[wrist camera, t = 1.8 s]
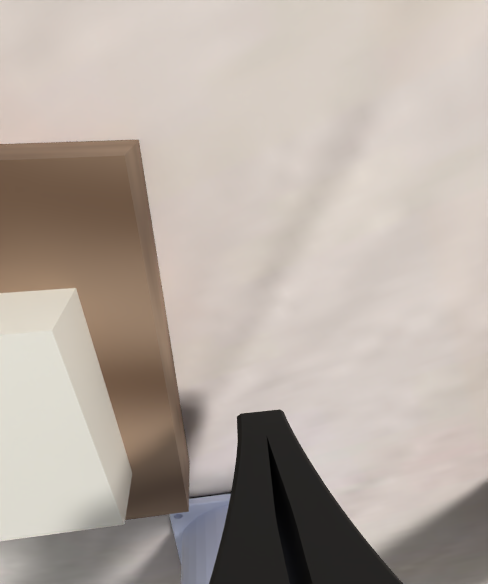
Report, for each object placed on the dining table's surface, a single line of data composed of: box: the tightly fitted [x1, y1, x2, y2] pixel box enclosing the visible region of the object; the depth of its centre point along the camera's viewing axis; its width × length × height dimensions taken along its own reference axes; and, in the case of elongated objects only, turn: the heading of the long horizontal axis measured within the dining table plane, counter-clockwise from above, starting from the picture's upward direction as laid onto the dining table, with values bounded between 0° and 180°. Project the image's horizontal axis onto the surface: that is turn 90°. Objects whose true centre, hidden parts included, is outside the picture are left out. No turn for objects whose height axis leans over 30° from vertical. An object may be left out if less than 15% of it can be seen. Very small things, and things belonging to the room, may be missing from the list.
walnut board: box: [0, 140, 189, 520], centre depth 13 cm, size 16×10×2 cm, turn 1°
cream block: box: [0, 288, 132, 541], centre depth 11 cm, size 9×6×2 cm, turn 1°
